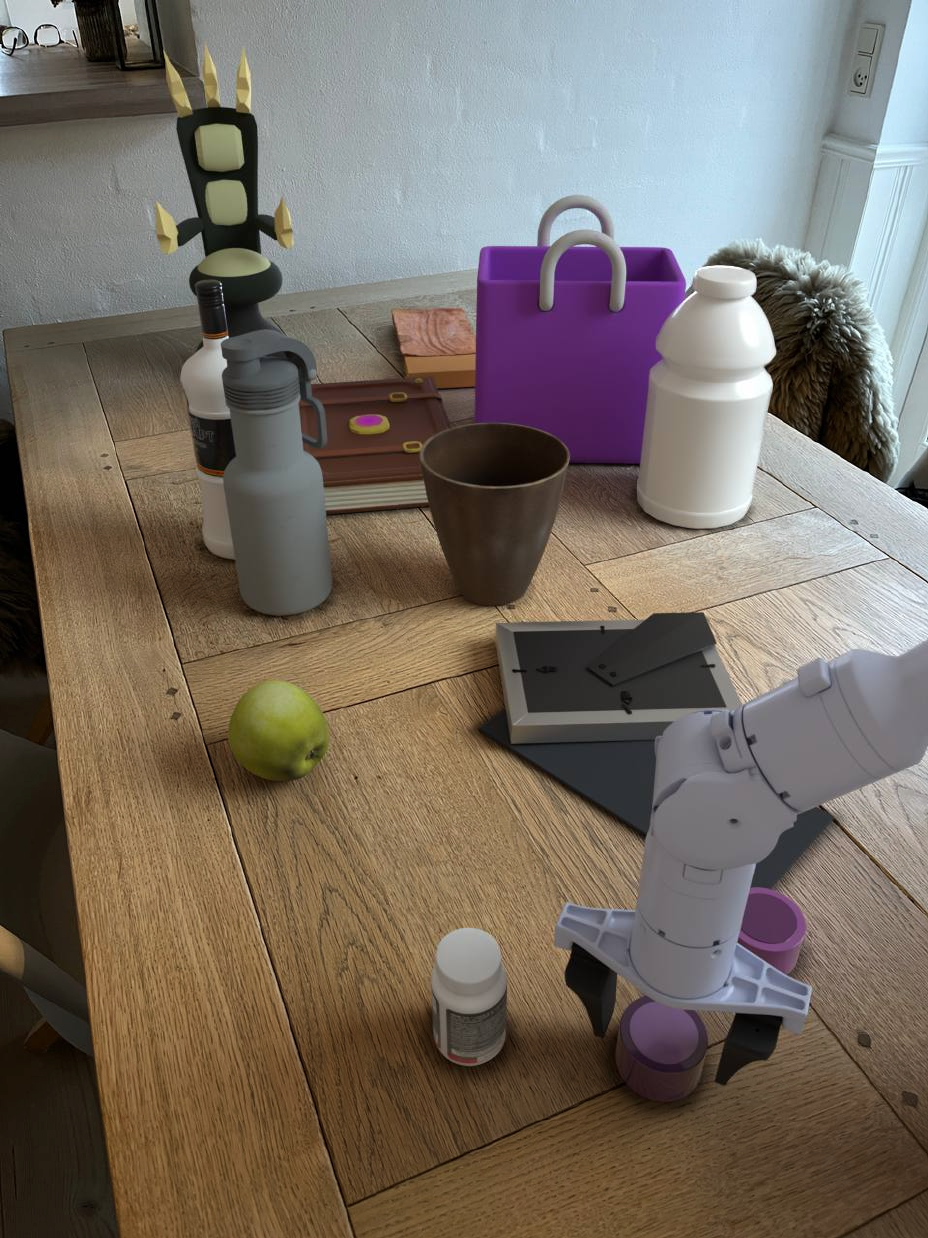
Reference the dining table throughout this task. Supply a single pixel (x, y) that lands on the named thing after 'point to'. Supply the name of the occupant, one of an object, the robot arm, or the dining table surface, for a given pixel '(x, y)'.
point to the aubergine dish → (660, 1050)
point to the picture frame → (608, 677)
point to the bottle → (707, 404)
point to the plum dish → (772, 928)
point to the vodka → (210, 417)
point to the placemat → (640, 788)
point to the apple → (278, 731)
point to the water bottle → (275, 475)
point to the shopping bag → (573, 335)
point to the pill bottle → (469, 997)
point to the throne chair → (225, 200)
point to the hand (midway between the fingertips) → (662, 1046)
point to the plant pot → (493, 504)
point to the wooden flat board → (437, 345)
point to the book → (374, 441)
